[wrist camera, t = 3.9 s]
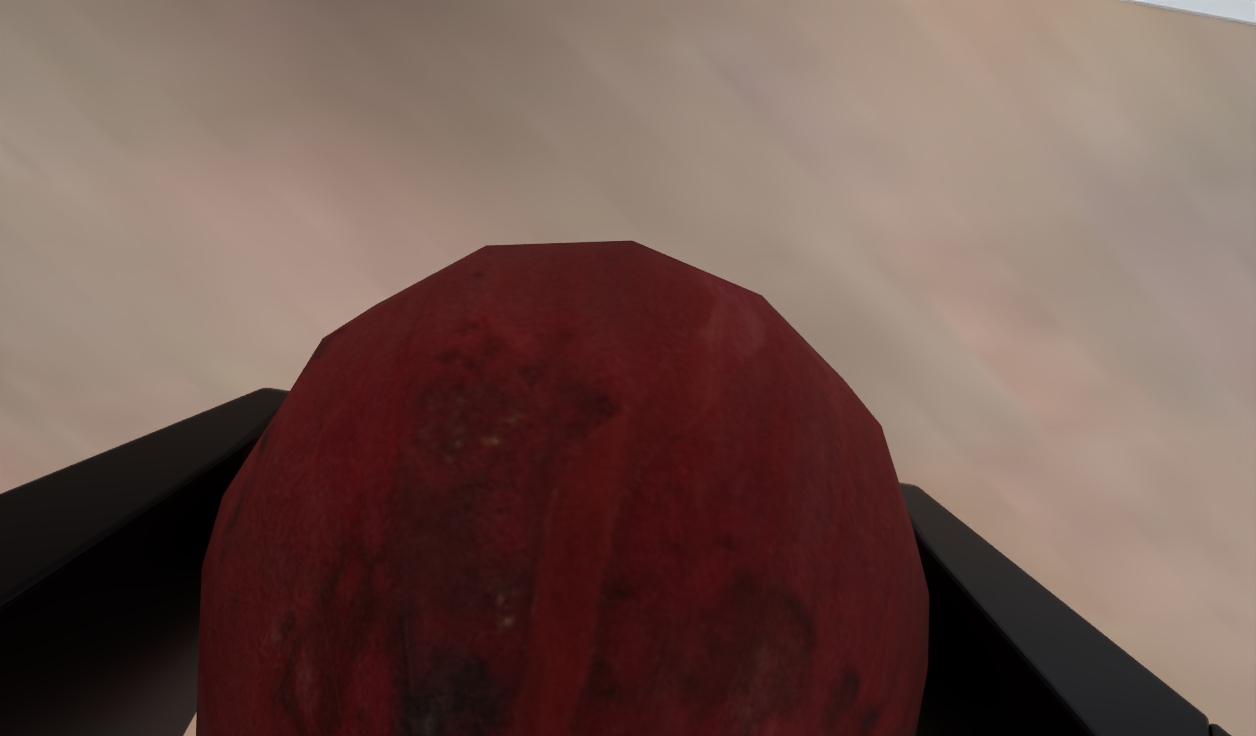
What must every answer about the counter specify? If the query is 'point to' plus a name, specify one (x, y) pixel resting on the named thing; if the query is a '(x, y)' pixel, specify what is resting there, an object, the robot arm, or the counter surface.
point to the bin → (1209, 8)
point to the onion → (565, 521)
